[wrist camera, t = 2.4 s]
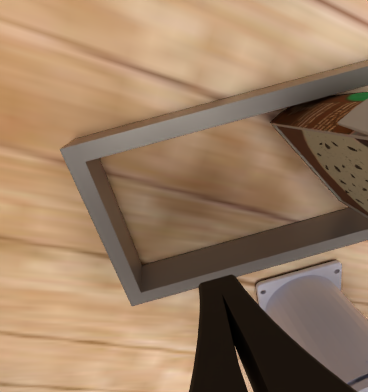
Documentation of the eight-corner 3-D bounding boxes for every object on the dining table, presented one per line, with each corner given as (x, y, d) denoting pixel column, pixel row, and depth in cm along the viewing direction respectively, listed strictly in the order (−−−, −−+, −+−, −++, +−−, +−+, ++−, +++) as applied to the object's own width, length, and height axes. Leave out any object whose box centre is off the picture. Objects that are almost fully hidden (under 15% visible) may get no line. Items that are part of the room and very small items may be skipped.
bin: (405, 202, 21) (442, 218, 19) (134, 278, 21) (131, 306, 18) (429, 43, 16) (484, 34, 14) (74, 138, 16) (59, 149, 13)
